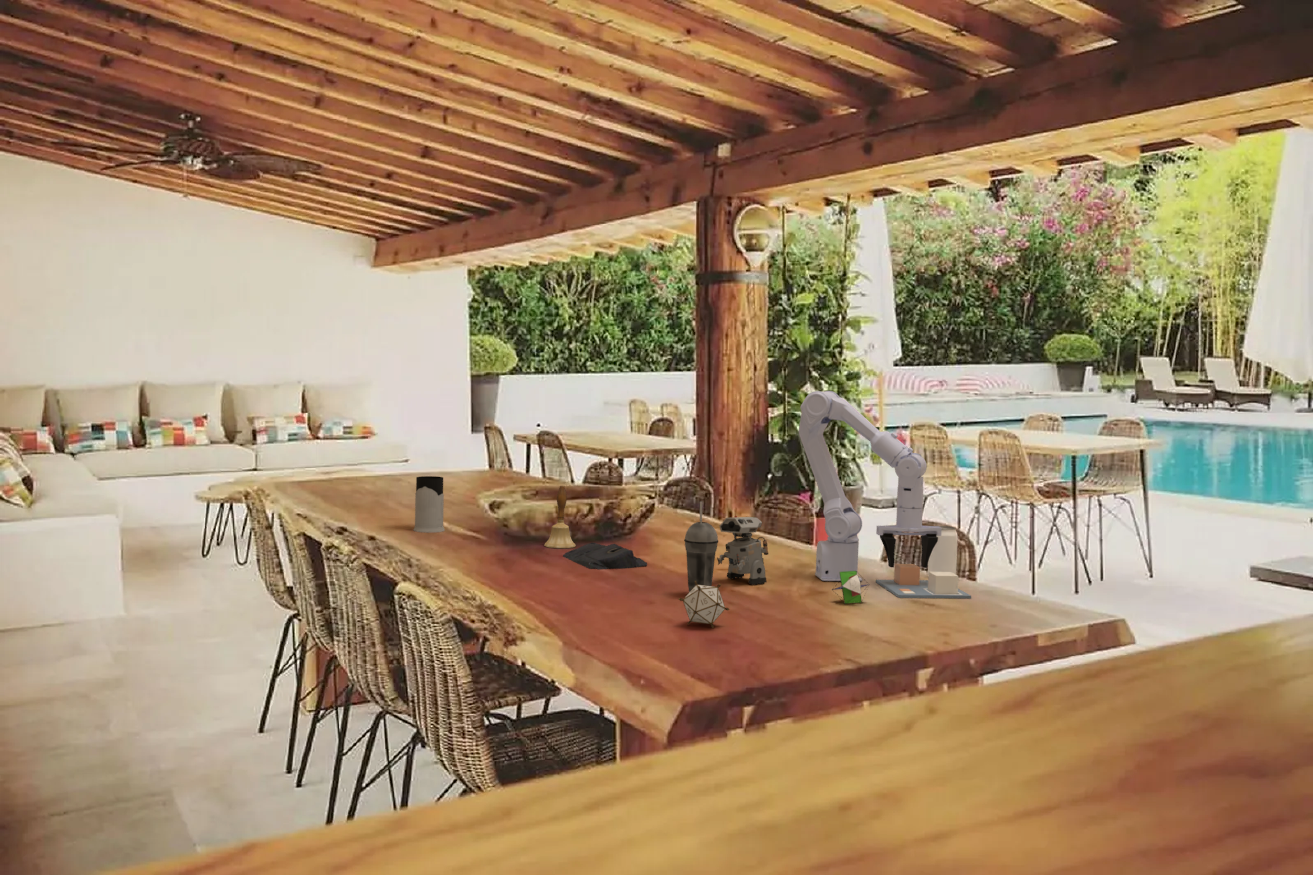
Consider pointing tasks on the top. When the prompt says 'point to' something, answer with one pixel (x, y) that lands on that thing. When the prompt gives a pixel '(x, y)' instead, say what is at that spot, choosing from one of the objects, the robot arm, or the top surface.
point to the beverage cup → (700, 552)
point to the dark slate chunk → (604, 557)
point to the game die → (704, 604)
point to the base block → (943, 583)
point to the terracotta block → (907, 574)
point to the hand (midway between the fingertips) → (907, 566)
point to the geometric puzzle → (850, 587)
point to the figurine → (744, 549)
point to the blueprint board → (917, 590)
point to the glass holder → (429, 504)
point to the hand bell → (560, 525)
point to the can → (944, 552)
